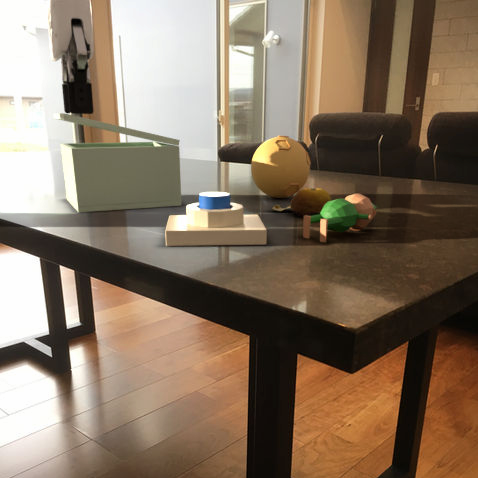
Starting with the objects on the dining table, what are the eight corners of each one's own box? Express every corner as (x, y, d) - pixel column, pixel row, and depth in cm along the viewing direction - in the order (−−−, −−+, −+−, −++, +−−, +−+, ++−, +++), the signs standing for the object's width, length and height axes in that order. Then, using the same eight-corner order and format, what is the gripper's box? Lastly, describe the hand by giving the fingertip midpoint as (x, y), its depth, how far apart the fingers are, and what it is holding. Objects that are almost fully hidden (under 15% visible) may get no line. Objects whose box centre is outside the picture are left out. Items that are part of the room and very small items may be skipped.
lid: (63, 119, 70) (67, 81, 68) (53, 118, 80) (56, 85, 79) (178, 145, 77) (184, 111, 76) (155, 141, 88) (160, 111, 87)
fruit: (317, 206, 80) (319, 182, 79) (347, 216, 73) (349, 189, 71) (269, 210, 77) (269, 184, 76) (295, 220, 70) (296, 192, 69)
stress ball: (259, 203, 83) (260, 137, 79) (244, 194, 92) (245, 134, 88) (317, 201, 85) (321, 136, 81) (297, 192, 94) (300, 134, 90)
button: (199, 212, 58) (198, 196, 57) (199, 207, 61) (198, 191, 61) (231, 212, 58) (231, 196, 57) (229, 206, 61) (229, 191, 61)
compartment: (78, 212, 75) (71, 148, 71) (66, 199, 85) (60, 143, 82) (181, 205, 81) (179, 146, 77) (158, 194, 91) (156, 141, 88)
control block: (165, 246, 56) (164, 213, 55) (169, 228, 65) (168, 200, 63) (266, 244, 57) (267, 212, 56) (257, 227, 65) (258, 199, 64)
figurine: (292, 236, 62) (354, 222, 69) (338, 245, 57) (400, 229, 64) (292, 198, 60) (356, 187, 67) (340, 204, 55) (403, 192, 62)
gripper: (32, -23, 75) (46, 112, 82) (42, -54, 61) (58, 113, 67) (85, -16, 78) (94, 114, 85) (107, -45, 64) (116, 114, 70)
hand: (78, 112), depth 76 cm, fingers closed on lid, 5 cm apart
